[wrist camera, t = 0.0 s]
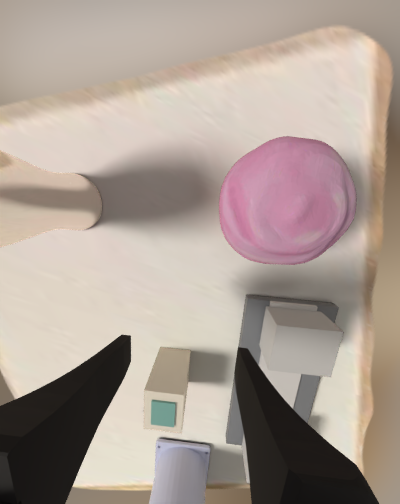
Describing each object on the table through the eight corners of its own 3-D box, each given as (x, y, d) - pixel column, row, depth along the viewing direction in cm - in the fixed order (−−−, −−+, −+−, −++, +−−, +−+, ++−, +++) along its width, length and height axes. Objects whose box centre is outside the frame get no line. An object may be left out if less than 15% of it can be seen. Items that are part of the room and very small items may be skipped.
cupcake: (211, 243, 21) (212, 272, 11) (222, 159, 19) (234, 104, 9) (291, 252, 20) (365, 290, 11) (310, 168, 18) (422, 121, 9)
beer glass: (106, 237, 21) (-124, 297, 7) (47, 229, 21) (-301, 271, 7) (106, 173, 20) (-193, 65, 5) (43, 165, 20) (-419, 41, 5)
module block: (188, 381, 25) (181, 435, 19) (159, 378, 25) (142, 431, 19) (190, 350, 24) (184, 397, 18) (160, 346, 24) (143, 392, 18)
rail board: (296, 443, 26) (314, 495, 22) (225, 434, 27) (229, 483, 22) (332, 303, 21) (367, 329, 17) (246, 294, 22) (255, 318, 17)
